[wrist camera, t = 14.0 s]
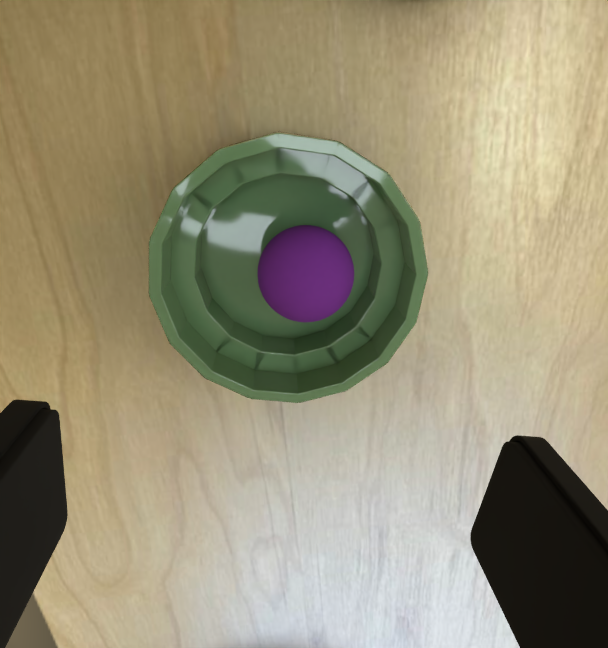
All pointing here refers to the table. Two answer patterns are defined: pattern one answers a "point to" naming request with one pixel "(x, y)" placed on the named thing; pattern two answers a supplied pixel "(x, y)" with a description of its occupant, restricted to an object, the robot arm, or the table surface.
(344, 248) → the ball
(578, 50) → the table surface
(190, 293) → the bowl
